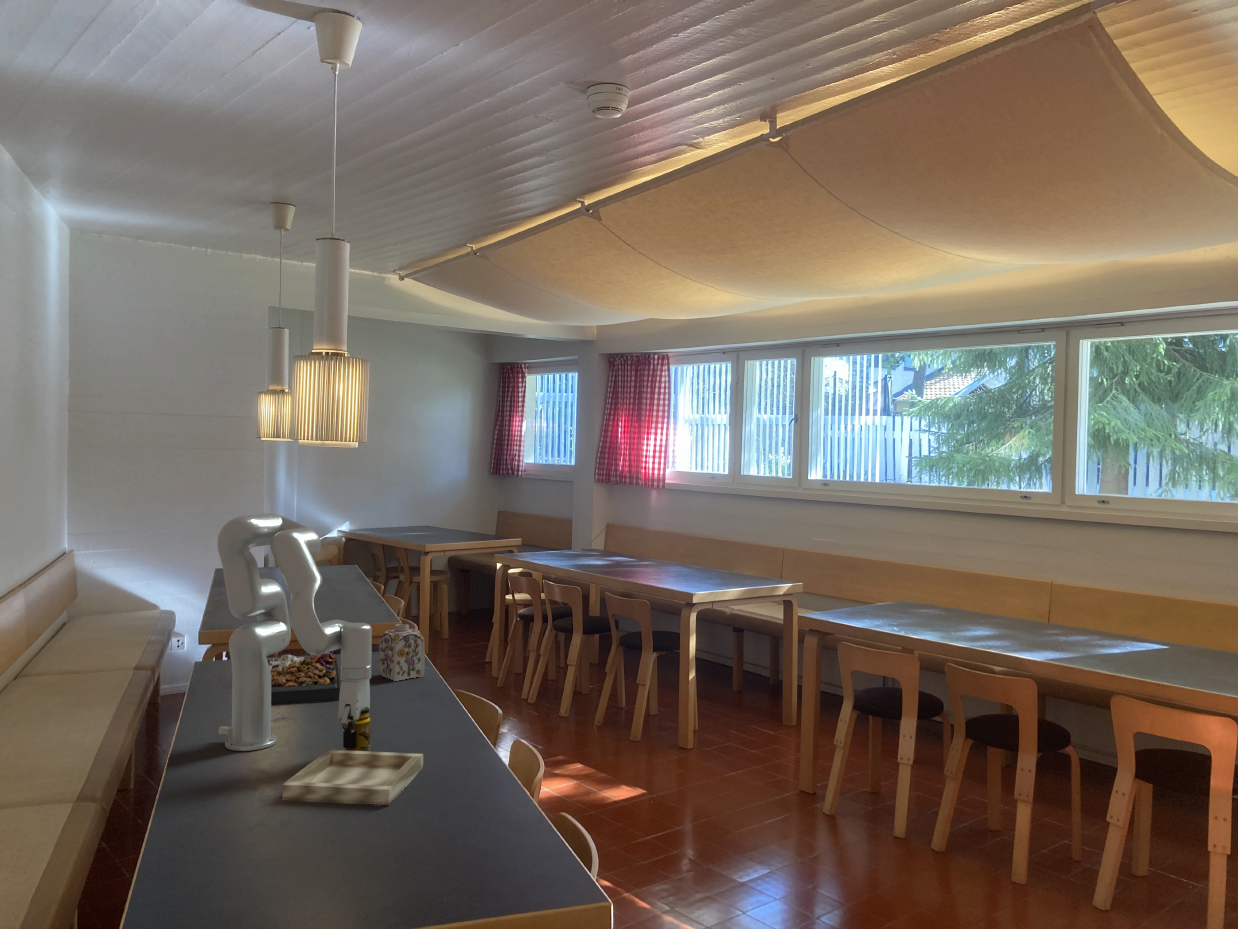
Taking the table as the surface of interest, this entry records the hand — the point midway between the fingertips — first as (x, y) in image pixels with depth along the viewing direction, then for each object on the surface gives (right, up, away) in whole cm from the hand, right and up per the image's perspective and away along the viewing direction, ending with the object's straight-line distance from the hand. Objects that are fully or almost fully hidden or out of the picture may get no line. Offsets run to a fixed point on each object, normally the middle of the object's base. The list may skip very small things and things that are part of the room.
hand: (355, 742), depth 225 cm
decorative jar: (-9, -3, +83) cm, 84 cm away
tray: (+6, -3, -20) cm, 21 cm away
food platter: (-39, -3, +69) cm, 79 cm away
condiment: (0, -3, 0) cm, 3 cm away
